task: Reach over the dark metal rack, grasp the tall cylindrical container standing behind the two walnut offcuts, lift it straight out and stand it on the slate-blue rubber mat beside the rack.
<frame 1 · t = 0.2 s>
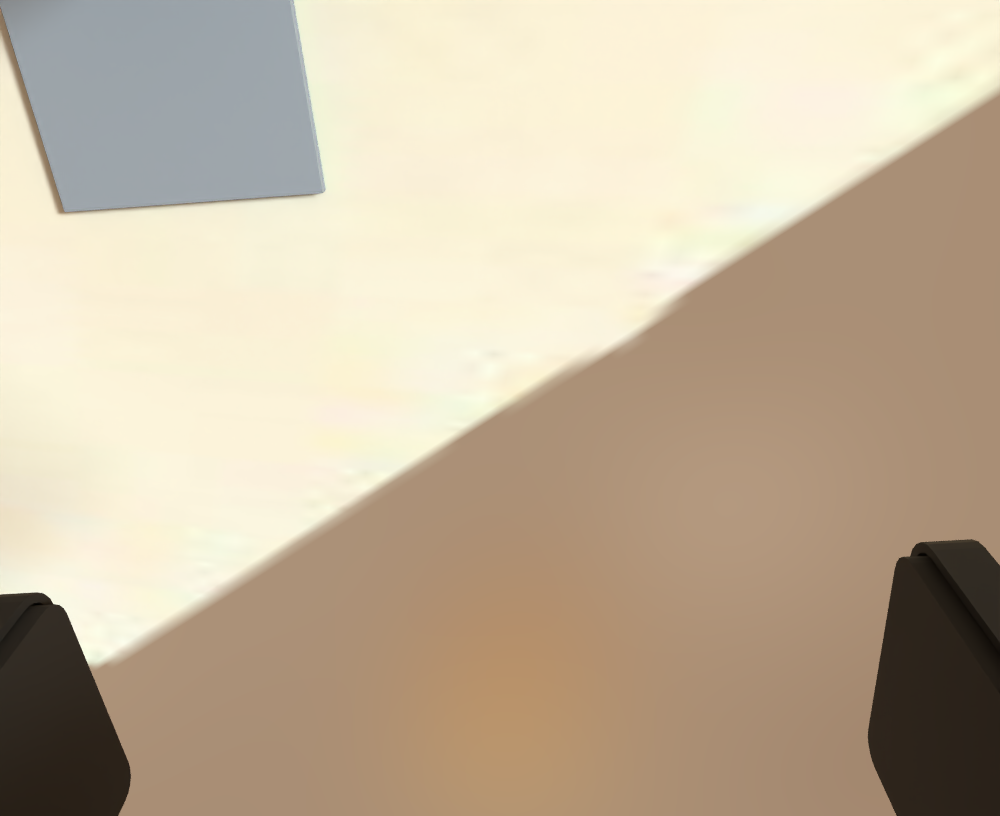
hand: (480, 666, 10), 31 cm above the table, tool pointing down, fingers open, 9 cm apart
mat: (169, 84, 36), on the table
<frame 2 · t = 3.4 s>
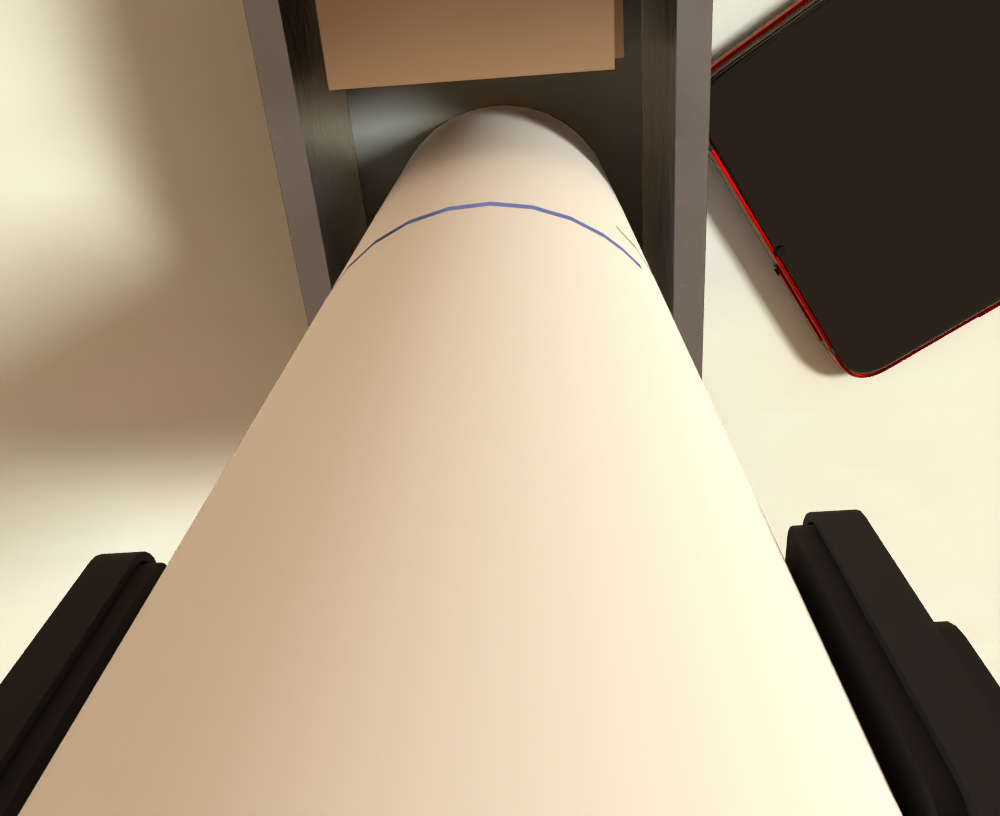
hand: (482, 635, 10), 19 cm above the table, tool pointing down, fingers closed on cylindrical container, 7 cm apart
rack: (493, 90, 25), on the table
cylindrical container: (504, 219, 27), resting in rack, touching gripper
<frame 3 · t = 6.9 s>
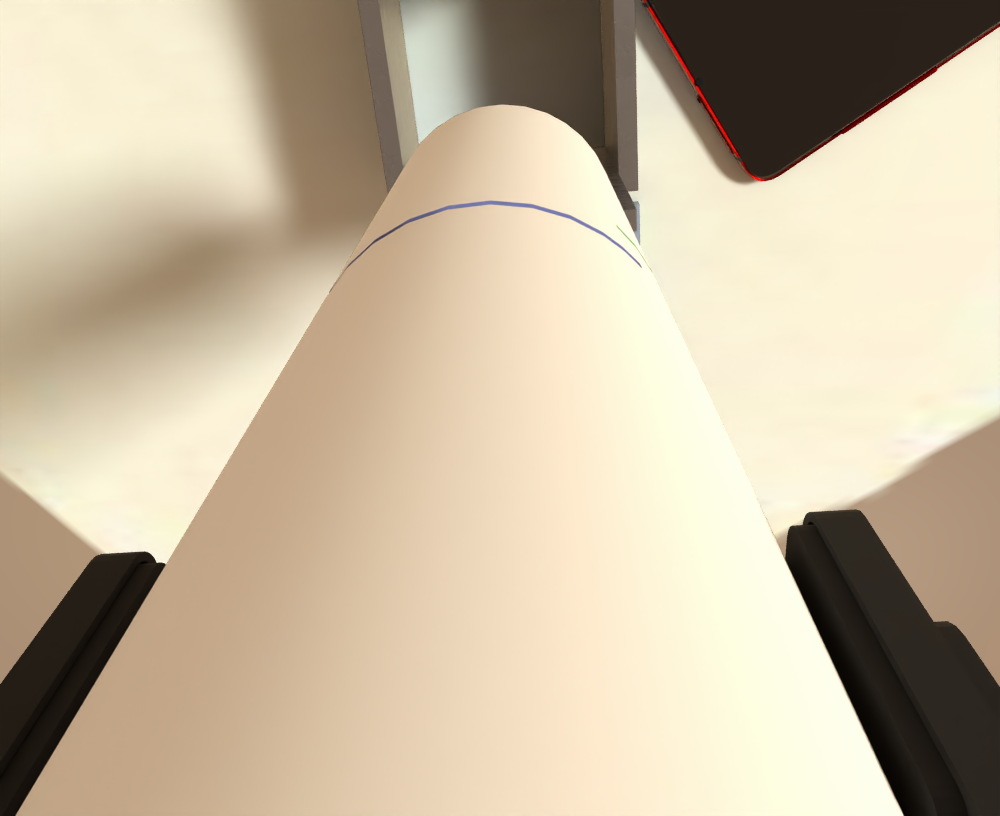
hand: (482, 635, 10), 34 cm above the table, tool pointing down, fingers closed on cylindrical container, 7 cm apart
cylindrical container: (504, 218, 27), point 14 cm above the table, touching gripper
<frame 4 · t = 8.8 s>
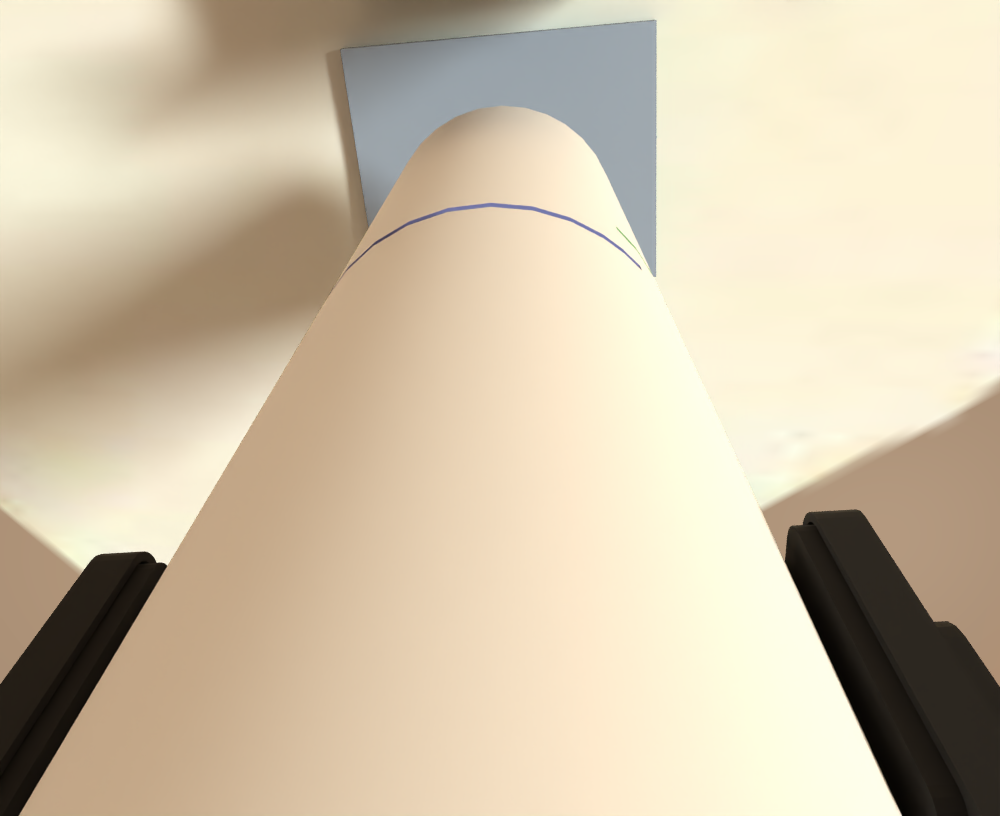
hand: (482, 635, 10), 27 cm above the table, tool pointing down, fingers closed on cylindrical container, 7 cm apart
cylindrical container: (504, 219, 27), point 8 cm above the table, touching gripper
mat: (507, 166, 34), on the table
when the fingers open (21 cm above the table, at t = 10.5 s): cylindrical container drops 1 cm, resting on mat.
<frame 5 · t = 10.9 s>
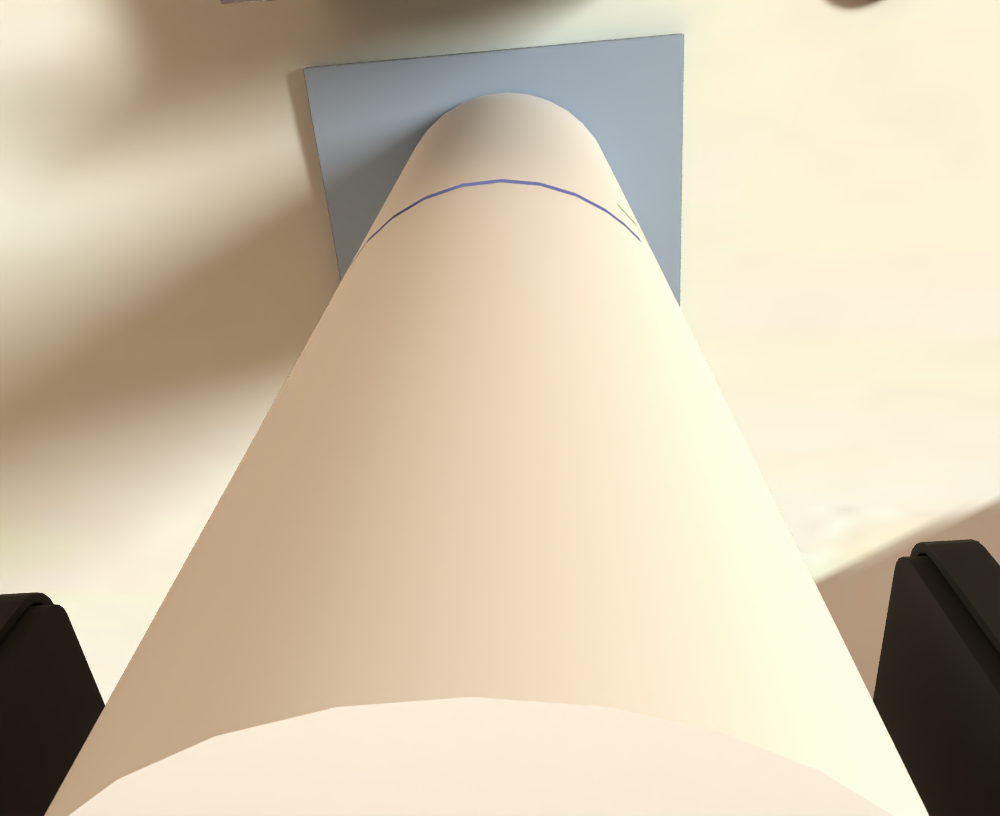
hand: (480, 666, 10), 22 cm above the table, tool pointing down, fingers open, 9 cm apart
cylindrical container: (507, 202, 28), resting on mat
mat: (504, 206, 29), on the table
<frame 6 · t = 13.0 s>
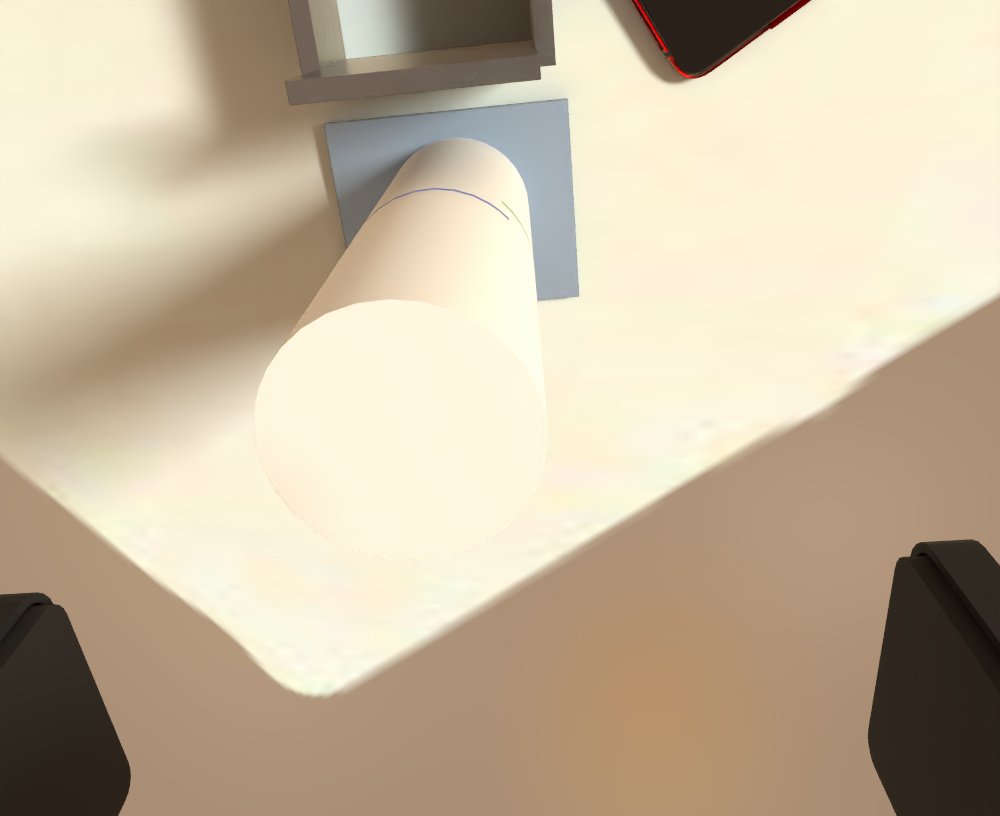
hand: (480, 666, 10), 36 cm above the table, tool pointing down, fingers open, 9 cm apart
cylindrical container: (459, 209, 43), resting on mat
mat: (457, 211, 43), on the table
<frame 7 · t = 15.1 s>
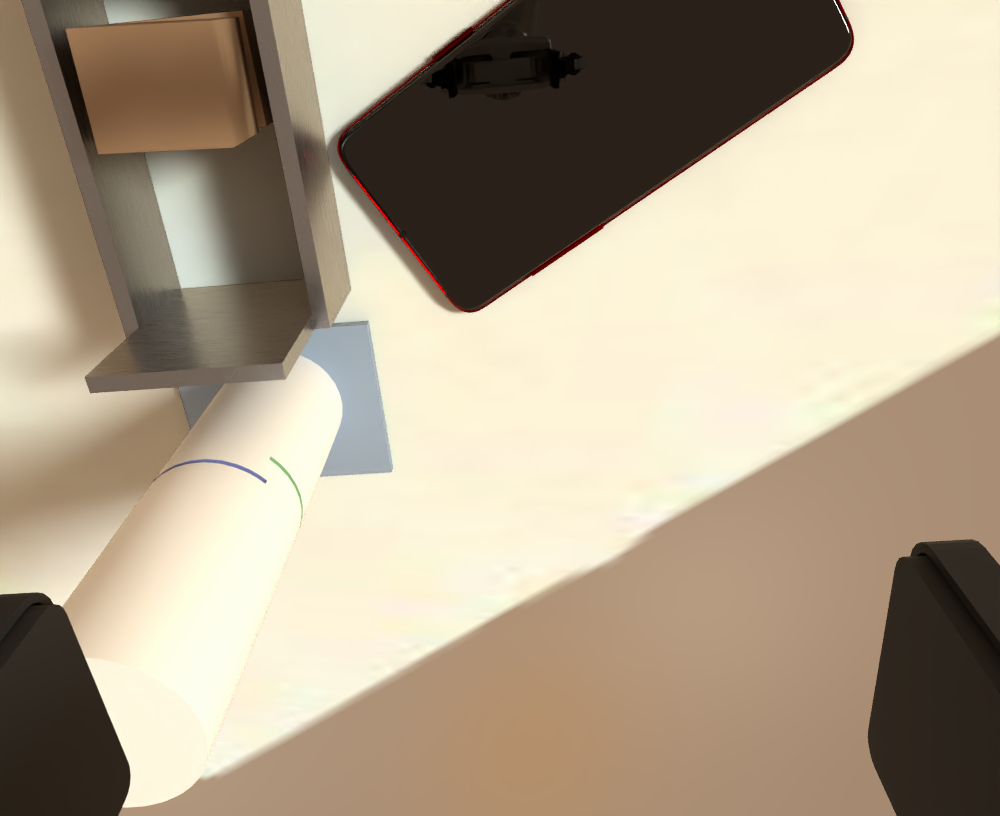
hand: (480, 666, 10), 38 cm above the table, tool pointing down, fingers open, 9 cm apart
rack: (223, 134, 44), on the table
cylindrical container: (284, 403, 51), resting on mat
mat: (284, 403, 51), on the table
smartphone: (588, 93, 43), on the table
walnut offcut upper: (185, 79, 39), point 4 cm above the table, touching walnut offcut lower
walnut offcut lower: (212, 68, 43), resting in rack, touching walnut offcut upper
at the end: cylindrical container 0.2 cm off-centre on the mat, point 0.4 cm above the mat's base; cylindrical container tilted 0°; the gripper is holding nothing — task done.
